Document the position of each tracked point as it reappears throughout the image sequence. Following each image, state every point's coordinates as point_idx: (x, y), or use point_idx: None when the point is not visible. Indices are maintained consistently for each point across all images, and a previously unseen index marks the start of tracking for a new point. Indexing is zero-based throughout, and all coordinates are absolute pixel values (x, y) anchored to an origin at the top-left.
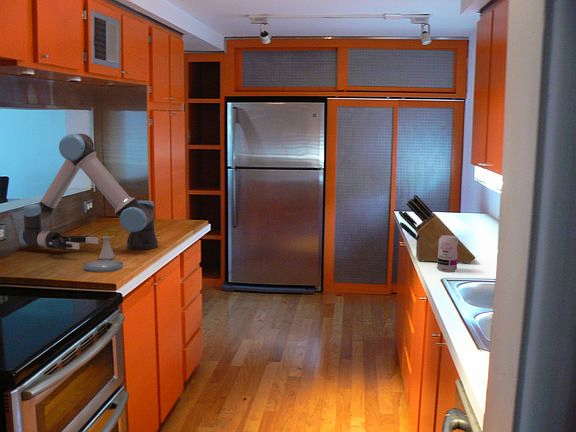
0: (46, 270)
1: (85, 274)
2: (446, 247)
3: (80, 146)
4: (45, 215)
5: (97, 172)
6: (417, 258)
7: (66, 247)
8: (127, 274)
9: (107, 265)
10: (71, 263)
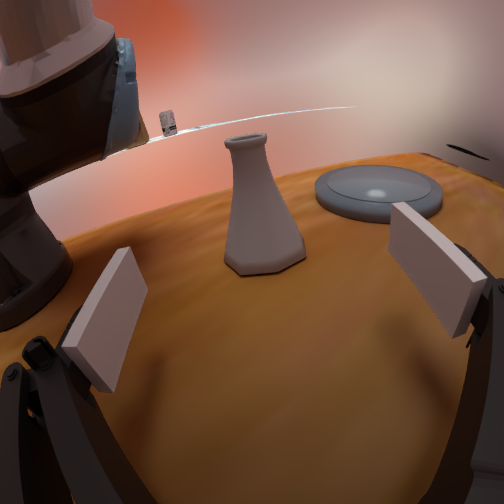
0: None
1: (450, 185)
2: (173, 116)
3: None
4: None
5: None
6: (139, 144)
7: (465, 324)
8: (368, 160)
9: (380, 171)
10: None
